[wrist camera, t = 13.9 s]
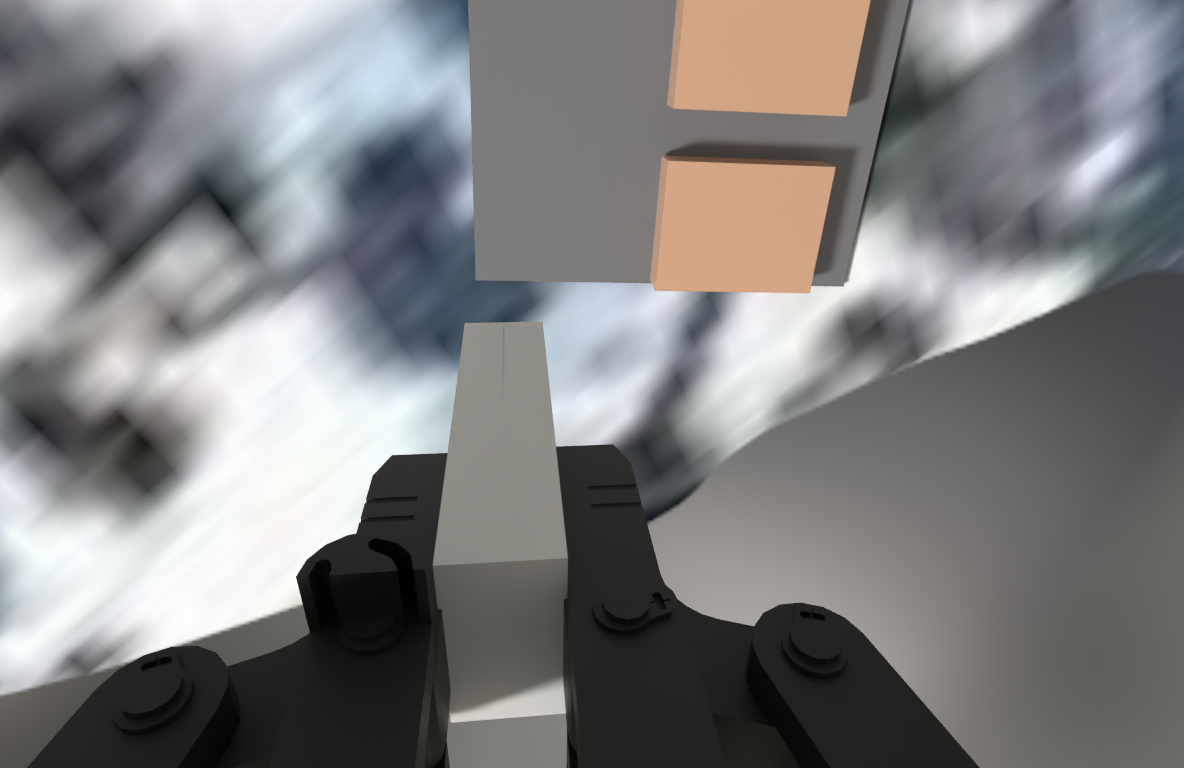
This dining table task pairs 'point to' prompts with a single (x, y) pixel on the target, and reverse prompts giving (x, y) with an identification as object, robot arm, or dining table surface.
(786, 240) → the tan flat block
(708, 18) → the tan rectangular block
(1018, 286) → the dining table surface
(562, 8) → the mat
